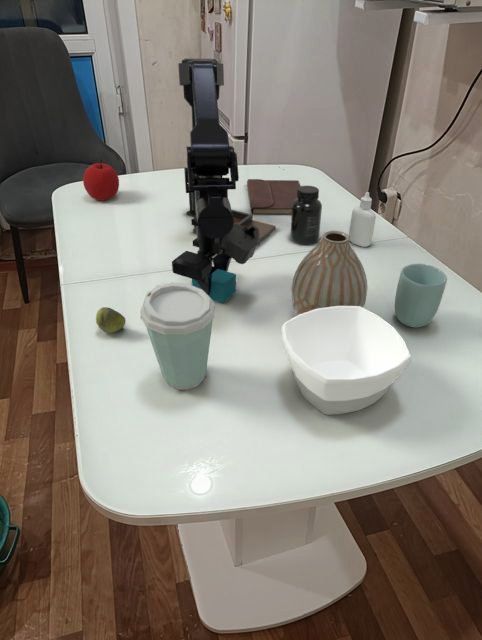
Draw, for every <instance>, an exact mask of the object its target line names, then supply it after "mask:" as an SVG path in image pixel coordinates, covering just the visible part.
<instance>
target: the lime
mask: <svg viewBox="0 0 482 640" xmlns="http://www.w3.org/2000/svg"><path fill="white" fill-rule="evenodd" d="M126 322H127V320H126V317H125V316H123V314H121V313H120V312H119V311H117V310H115V309H113V308H111V307H108V306H107V307H100V308H99V309H98V310H97V311H96V315H95V323H96V325H97V327H98V328H99V329H100V330H101V331H103V332H104V333H115V332H118V331H120V330H122V329H123V328H124V327H125V325H126Z"/></svg>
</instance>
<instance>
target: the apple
mask: <svg viewBox="0 0 482 640" xmlns="http://www.w3.org/2000/svg"><path fill="white" fill-rule="evenodd" d="M82 183H83V187H84V189H85V191H86V193H87V195H88V196H90V197H91V198H92V199H94V200H97V201H108V200H110V199H112V198H113V197H115V196H116V195H117V193H118V191H119V188H120V179H119V175H118V173H117V171H116V170H115V169H114V168H113V167H112V166H111V165H110V164H107V163H105V162H104V163H103V159H102V158H100V162H96V163H92V164H91V165H89V166H88V167H87V168H86V170H85V171H84V174H83V178H82Z"/></svg>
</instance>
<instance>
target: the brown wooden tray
mask: <svg viewBox="0 0 482 640" xmlns="http://www.w3.org/2000/svg"><path fill="white" fill-rule="evenodd" d="M231 210H232V214H233V219H234V223H235V224H238V225H242V226H246V227H247V228H249V227H250V226H251V225H254V226H255V227H257V228H258V229H259V239H260V240H259V242H260V243H262V242H263V241H264V240H265V239H266V238H268V237H269V236H270V235H271V234H272V233H273V232H275V231H276V228H277V227H276V225H275V224H270V223H265V222H261V221H258V220H254V214H252V213H249V212H243V211H240V210H235V209H231ZM192 234H194V235H197V227H196V226H194V225H193V229H192Z"/></svg>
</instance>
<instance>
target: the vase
mask: <svg viewBox="0 0 482 640" xmlns="http://www.w3.org/2000/svg"><path fill="white" fill-rule="evenodd" d="M290 296H291V304H292V307H293V310H294V313H295V315H296V316H297V315H300V314H303V313H306V312H309V311H312V310H315V309H318V308H326V307H334V306H360V307H362V308H364V309H365V305H366V300H367V296H368V279H367V274H366V270H365V268H364V265H363V263H362V262H361V260H360V257H359V256H358V255H357V253H356V252H355V250H354V248H353V247H352V244H351V241H350V237H349V233H348V234H347V233H346V232H344V231H342V230H341V231H340V230H327V231H324V233H323V234H322V237H321V239H320V241H319V242H318V244H316V246H314V247H313V248H312V249H311V250H309V252H308V253H307V254H306V255H305V256H304V257H303V259H302V260H301V261H300V263H299V264H298V266H297V268H296V270H295V272H294V275H293V278H292V283H291V295H290Z"/></svg>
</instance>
